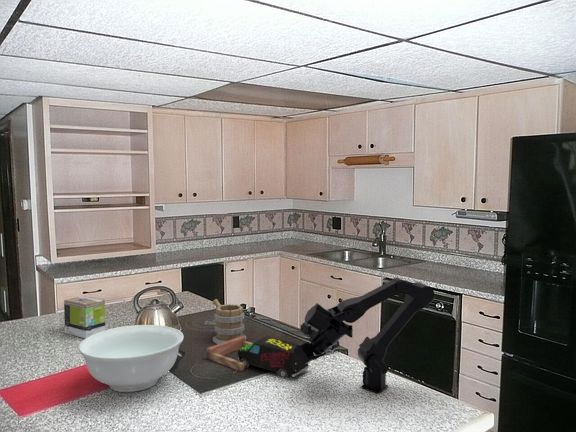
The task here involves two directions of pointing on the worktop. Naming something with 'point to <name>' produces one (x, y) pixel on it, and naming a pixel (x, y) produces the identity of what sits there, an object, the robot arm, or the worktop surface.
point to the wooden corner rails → (224, 348)
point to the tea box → (84, 316)
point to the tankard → (228, 322)
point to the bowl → (131, 355)
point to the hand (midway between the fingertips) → (302, 360)
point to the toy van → (273, 356)
